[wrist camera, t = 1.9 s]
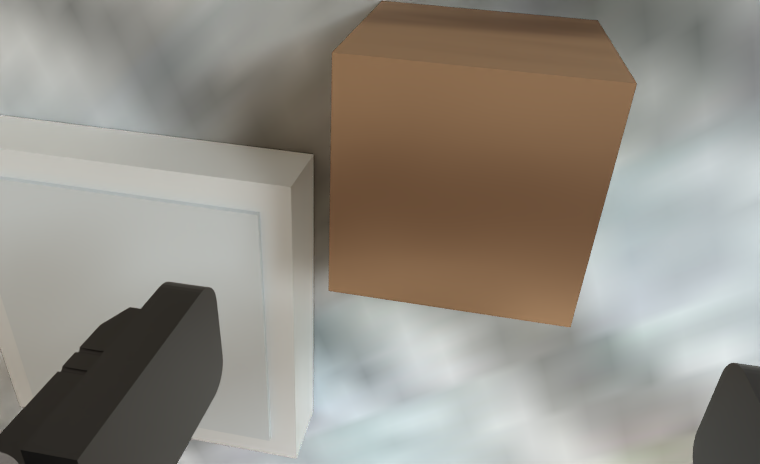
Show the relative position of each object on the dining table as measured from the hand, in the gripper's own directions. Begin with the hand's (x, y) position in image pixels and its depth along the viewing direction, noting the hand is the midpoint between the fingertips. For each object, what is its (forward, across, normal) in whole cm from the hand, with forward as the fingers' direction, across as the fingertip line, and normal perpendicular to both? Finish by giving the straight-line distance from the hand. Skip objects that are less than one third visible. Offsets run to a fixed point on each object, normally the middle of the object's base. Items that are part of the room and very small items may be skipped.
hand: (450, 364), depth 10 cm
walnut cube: (+11, 0, -1) cm, 11 cm away
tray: (+11, +11, +7) cm, 17 cm away
